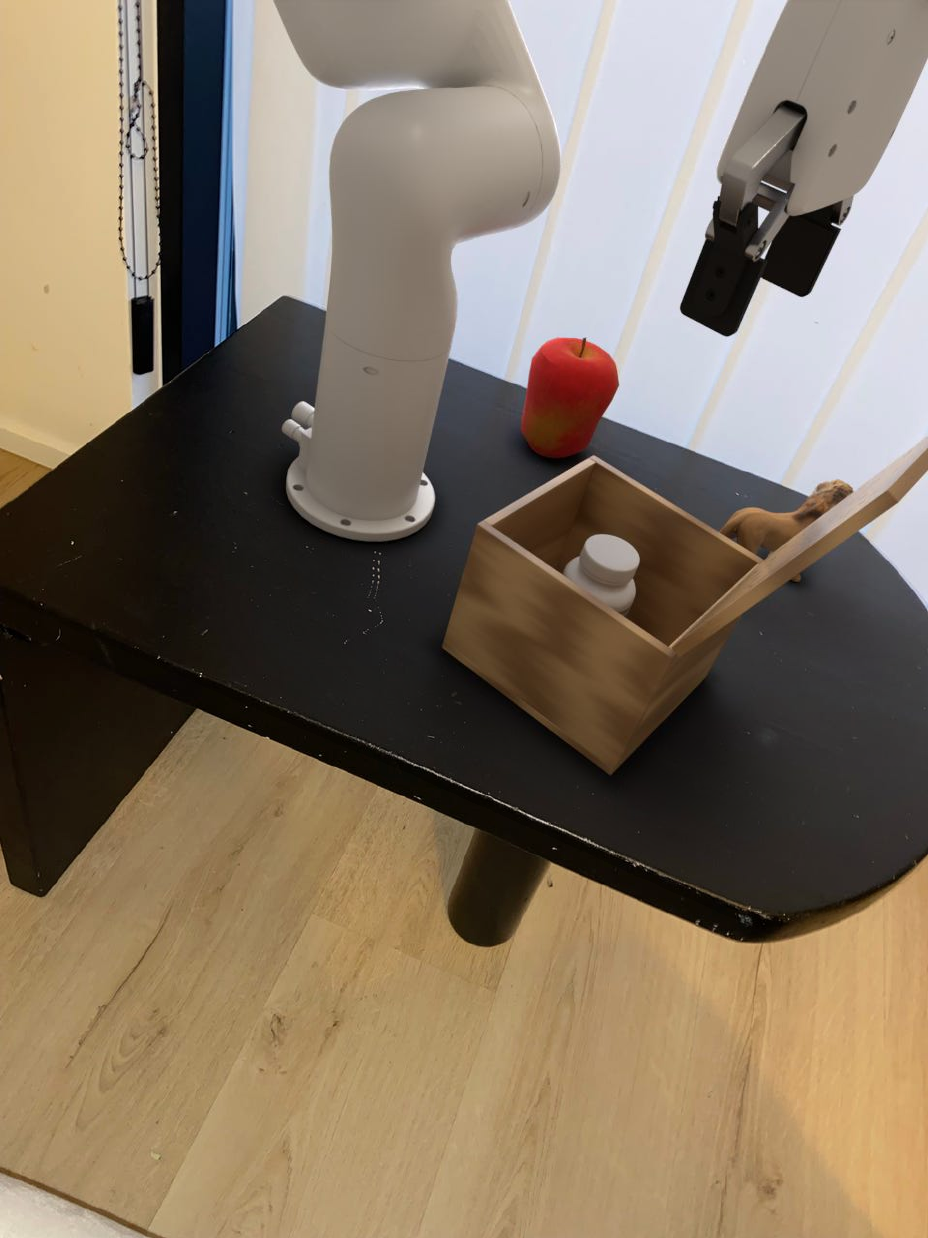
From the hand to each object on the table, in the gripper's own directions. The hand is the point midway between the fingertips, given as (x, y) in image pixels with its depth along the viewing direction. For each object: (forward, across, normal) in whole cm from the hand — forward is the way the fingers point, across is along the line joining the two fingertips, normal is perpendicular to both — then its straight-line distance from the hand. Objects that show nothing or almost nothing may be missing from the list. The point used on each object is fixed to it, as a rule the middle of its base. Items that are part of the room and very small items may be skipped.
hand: (746, 304), depth 52 cm
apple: (+30, -23, -20) cm, 42 cm away
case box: (+29, 0, -1) cm, 29 cm away
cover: (+10, 0, +9) cm, 13 cm away
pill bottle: (+29, 0, -2) cm, 29 cm away
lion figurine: (+30, -24, +3) cm, 38 cm away
